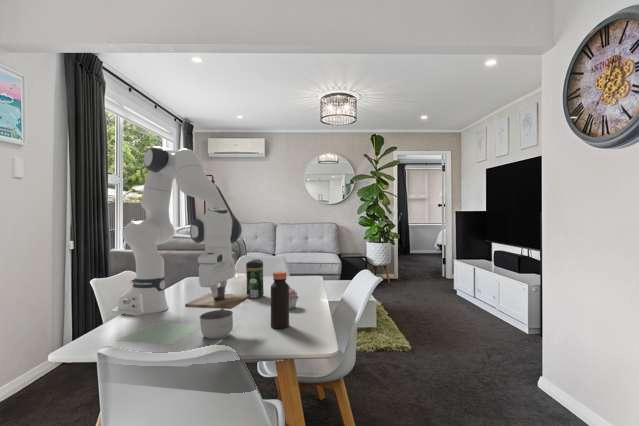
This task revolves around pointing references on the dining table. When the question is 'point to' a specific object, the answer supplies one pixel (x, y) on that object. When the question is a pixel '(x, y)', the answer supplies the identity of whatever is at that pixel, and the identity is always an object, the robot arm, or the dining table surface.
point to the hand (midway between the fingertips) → (218, 295)
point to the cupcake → (292, 298)
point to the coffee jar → (254, 278)
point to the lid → (218, 300)
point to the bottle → (279, 301)
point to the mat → (161, 333)
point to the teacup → (216, 324)
